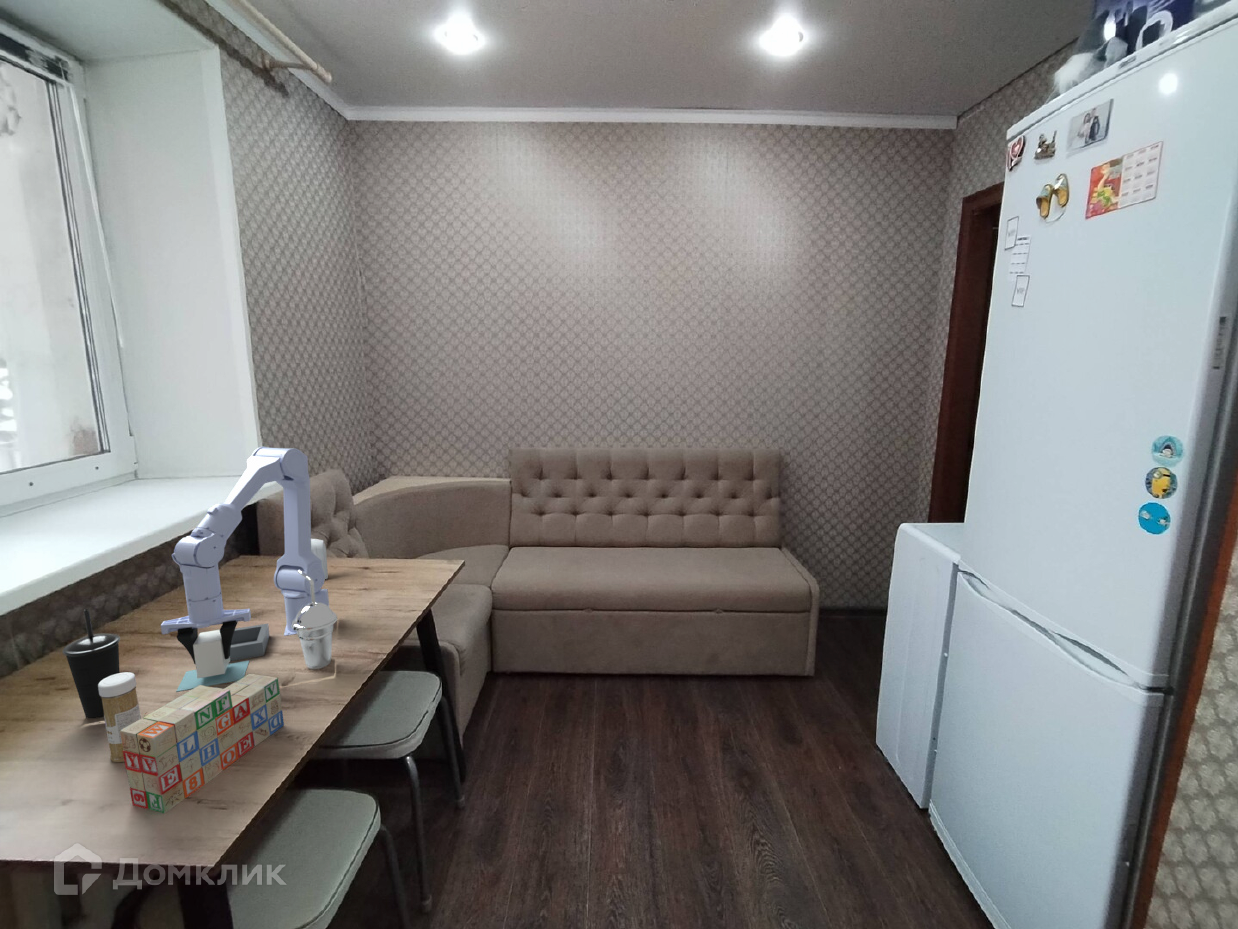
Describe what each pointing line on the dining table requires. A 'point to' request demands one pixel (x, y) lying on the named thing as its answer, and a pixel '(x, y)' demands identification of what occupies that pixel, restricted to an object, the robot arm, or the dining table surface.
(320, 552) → the photo printer
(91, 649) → the drinking cup
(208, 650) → the block
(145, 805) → the stack of blocks
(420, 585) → the dining table surface
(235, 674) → the mat
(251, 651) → the case
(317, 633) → the cup with straw
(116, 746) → the sprinkles bottle
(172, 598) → the dining table surface
